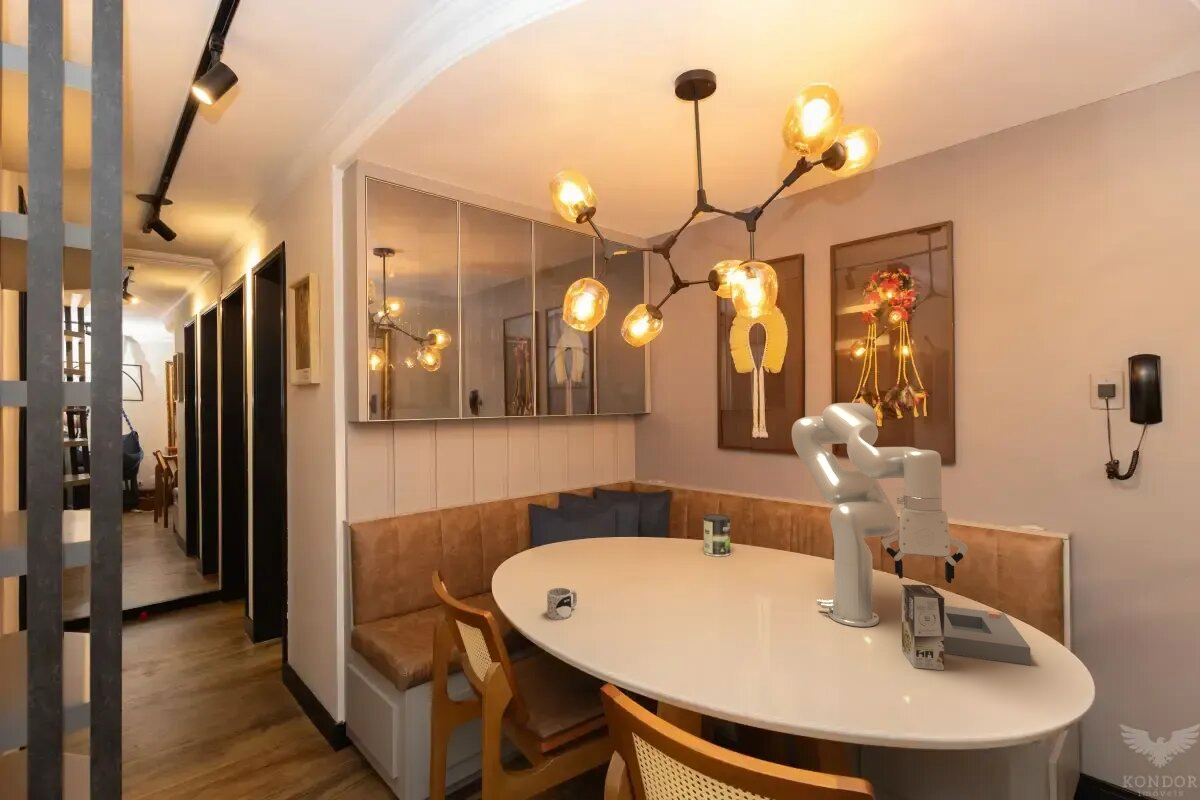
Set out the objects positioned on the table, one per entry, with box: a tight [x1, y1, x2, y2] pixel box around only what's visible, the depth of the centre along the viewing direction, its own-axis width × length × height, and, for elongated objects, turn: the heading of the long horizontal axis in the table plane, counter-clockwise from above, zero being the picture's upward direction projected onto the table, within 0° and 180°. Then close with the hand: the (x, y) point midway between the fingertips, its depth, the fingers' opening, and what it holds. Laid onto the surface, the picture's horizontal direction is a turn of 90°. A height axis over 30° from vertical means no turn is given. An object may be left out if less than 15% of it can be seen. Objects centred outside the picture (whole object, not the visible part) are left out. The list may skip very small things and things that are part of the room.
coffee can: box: [702, 513, 731, 558], centre depth 221 cm, size 10×10×14 cm
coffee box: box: [901, 584, 945, 671], centre depth 131 cm, size 9×6×16 cm
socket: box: [944, 605, 1031, 666], centre depth 142 cm, size 20×22×5 cm
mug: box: [546, 587, 578, 621], centre depth 161 cm, size 10×7×7 cm, turn 137°
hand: (924, 579), depth 131 cm, fingers open, 9 cm apart
